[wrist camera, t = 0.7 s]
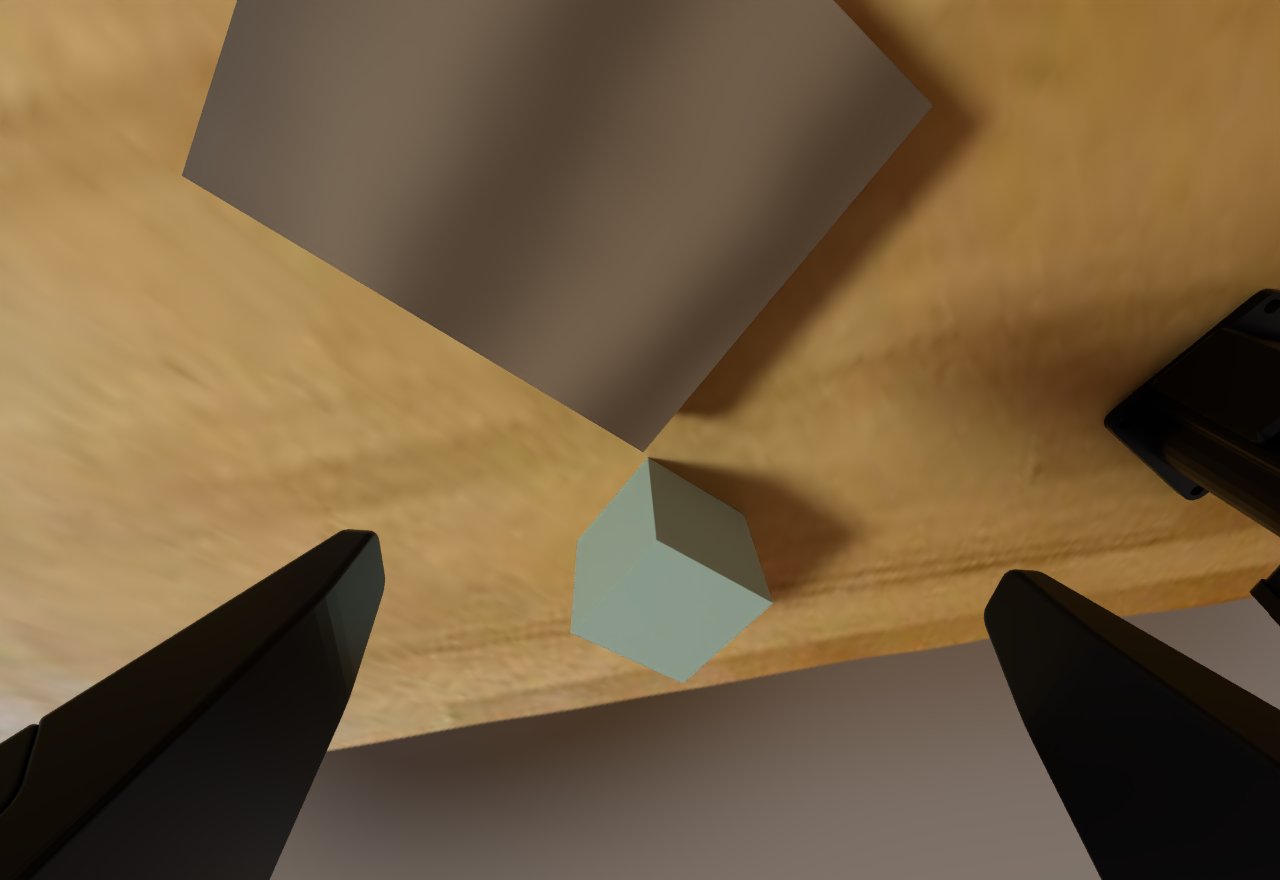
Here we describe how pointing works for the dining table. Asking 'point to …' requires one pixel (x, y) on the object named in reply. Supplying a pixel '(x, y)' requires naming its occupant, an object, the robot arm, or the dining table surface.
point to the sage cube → (666, 574)
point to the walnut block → (557, 169)
